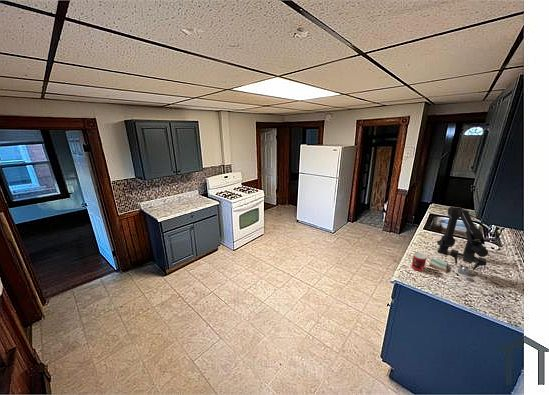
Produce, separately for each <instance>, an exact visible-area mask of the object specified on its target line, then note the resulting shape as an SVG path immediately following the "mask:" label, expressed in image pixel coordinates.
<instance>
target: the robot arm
mask: <svg viewBox="0 0 549 395" xmlns="http://www.w3.org/2000/svg"><path fill="white" fill-rule="evenodd" d="M447 215H448V222H447V226H446V230H445V234H444V235H442V236H441V238H440V239H439V240H437V242H436V244H437V245H438V249H437V253H439V254H443V255H445V256H448V253H449V248H453V246H455V243H456V239H455V237H454V235H455V231H456V226H457V223H458V220H459V218H461V220H462V222H463V225H464V227H465V229H466V231H465V234H466V237H465V240H466V243H465V247H464V249H463V253H461V252H459V250H456V249H451V250H450V254H449V255H450V256H451V257H452V258H453V259H454V263H455V264H454V265H455V266H457V264H458V257H462V262H465V263H469V264H473V263H474V266H473V268H472V271H475V270H476V269H477V268H479V267H486V266H487V262H488V260H487V259H486V258H484V257H487V255H489V251H488V250H487V247H486V246H484V245H485V244H486V241H485V238H484V234H483V232H482V231H481V230H480V229H479V228H478V227H476V224H474V222H473V220H472V217H471V215H470V212H469V210H466V208H465V209H463V208H462V207H461V206H459V207H458V206H450V207H448V209H447ZM476 255H477V256H478V257H477V256H476Z"/></svg>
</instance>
